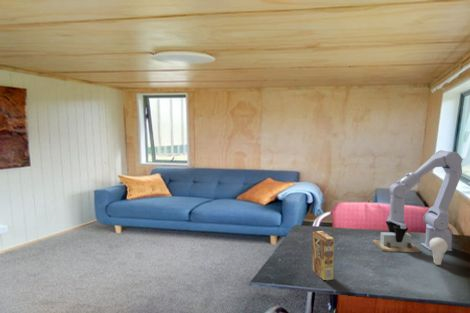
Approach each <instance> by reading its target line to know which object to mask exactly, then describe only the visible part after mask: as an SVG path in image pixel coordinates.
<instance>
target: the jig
mask: <svg viewBox="0 0 470 313" xmlns="http://www.w3.org/2000/svg"><path fill="white" fill-rule="evenodd" d="M372 243H374V244H375V245H376V247H378V249H380V251H382V252H396V253H397V252H398V253H399V252H400V253H402V252H403V253H421V249H420V248H419V247H417V246H416V245H414V243H412V242H411V243H408V246H391V244H390V243H387V246H383V245H382V244H381V243H380V239H372Z"/></svg>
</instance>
